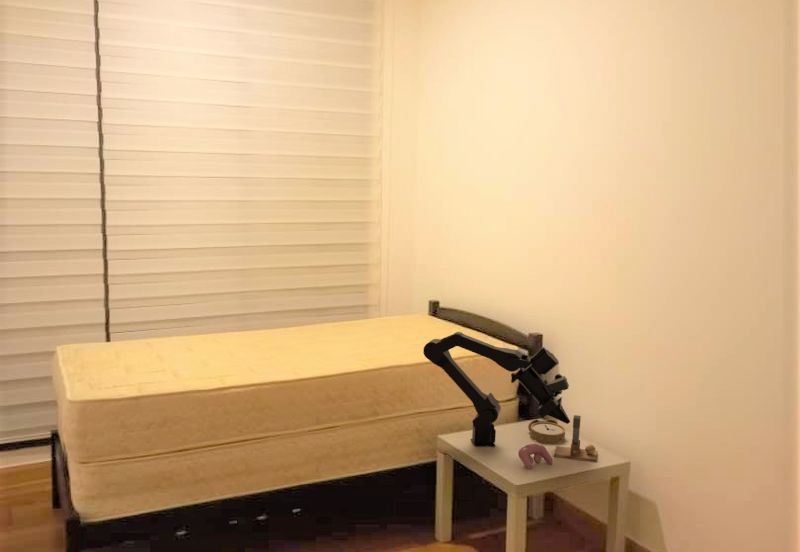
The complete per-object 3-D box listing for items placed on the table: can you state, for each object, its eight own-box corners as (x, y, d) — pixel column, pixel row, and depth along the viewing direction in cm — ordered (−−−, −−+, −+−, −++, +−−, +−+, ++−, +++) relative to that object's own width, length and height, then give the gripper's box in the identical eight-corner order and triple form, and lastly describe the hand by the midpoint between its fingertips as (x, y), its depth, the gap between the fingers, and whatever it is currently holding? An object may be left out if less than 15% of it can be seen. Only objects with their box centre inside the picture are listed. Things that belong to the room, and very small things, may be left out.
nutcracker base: (553, 456, 227) (554, 443, 226) (556, 448, 234) (556, 436, 234) (596, 462, 223) (597, 449, 223) (597, 453, 231) (597, 440, 230)
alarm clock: (535, 435, 238) (524, 413, 252) (534, 449, 239) (523, 426, 254) (570, 435, 239) (556, 413, 253) (568, 449, 240) (555, 426, 255)
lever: (571, 451, 227) (573, 418, 226) (572, 448, 231) (574, 415, 229) (578, 452, 227) (580, 418, 226) (578, 448, 230) (580, 415, 229)
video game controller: (544, 465, 223) (538, 442, 225) (555, 463, 220) (548, 439, 222) (520, 471, 218) (513, 447, 220) (530, 469, 214) (523, 445, 216)
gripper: (550, 374, 219) (587, 414, 217) (556, 361, 237) (590, 398, 235) (522, 397, 222) (558, 438, 220) (530, 383, 240) (563, 420, 238)
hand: (568, 422), depth 228 cm, fingers closed
